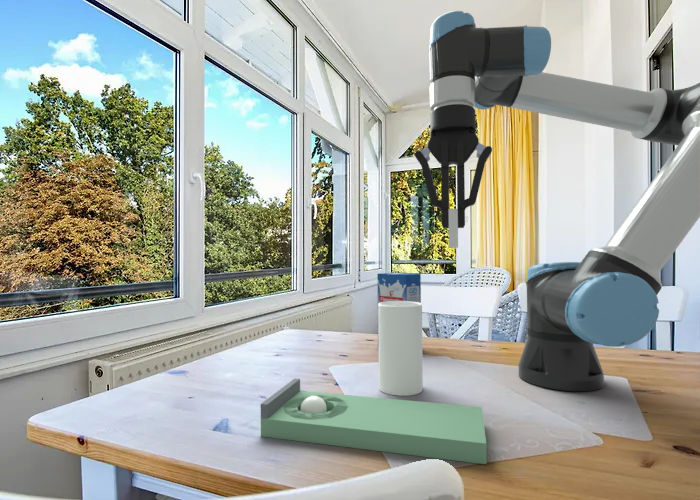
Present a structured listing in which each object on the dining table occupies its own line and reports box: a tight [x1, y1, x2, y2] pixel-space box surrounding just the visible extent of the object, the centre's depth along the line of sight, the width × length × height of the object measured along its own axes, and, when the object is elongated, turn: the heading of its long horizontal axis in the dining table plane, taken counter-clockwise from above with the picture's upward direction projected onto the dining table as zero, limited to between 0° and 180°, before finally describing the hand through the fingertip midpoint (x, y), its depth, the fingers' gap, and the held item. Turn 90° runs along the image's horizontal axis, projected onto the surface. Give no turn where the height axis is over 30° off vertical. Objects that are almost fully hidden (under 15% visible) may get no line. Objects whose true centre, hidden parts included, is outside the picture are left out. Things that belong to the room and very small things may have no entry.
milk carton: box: [376, 272, 422, 348], centre depth 109 cm, size 10×6×20 cm, turn 43°
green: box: [260, 378, 488, 465], centre depth 59 cm, size 30×12×4 cm, turn 75°
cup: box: [377, 301, 424, 397], centre depth 77 cm, size 8×8×16 cm
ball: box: [300, 396, 327, 414], centre depth 61 cm, size 4×4×4 cm
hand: (453, 247), depth 69 cm, fingers closed
